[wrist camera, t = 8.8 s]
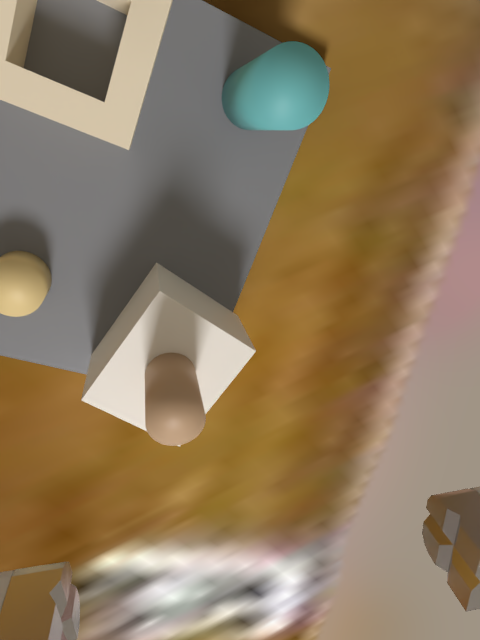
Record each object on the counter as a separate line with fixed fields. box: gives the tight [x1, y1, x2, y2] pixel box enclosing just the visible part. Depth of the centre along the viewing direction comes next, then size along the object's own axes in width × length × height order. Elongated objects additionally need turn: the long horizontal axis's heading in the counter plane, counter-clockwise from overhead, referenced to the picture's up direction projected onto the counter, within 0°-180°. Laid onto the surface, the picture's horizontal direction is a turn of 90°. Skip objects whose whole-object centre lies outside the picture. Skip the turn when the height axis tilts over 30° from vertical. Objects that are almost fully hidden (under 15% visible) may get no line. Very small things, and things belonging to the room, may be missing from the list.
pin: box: [222, 41, 329, 130], centre depth 20 cm, size 3×3×7 cm
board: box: [0, 0, 331, 374], centre depth 23 cm, size 21×16×4 cm
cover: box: [81, 263, 256, 447], centre depth 23 cm, size 7×6×9 cm
